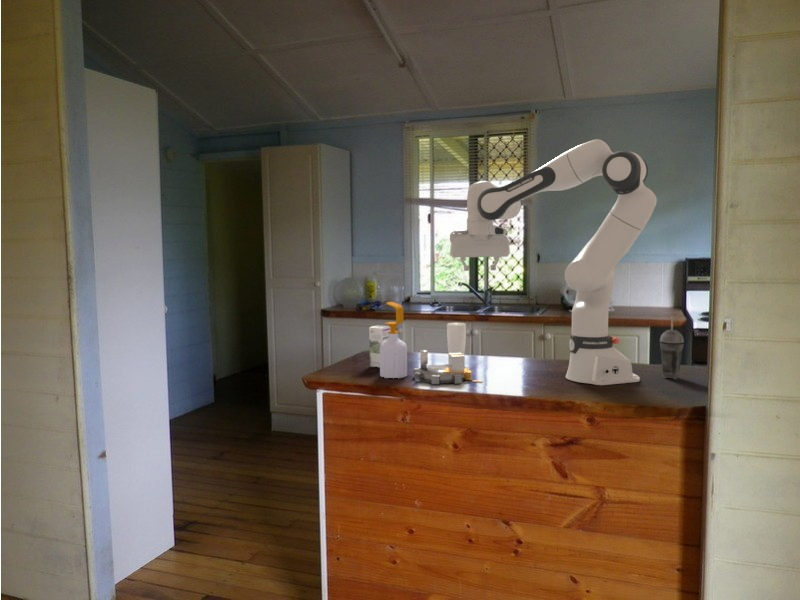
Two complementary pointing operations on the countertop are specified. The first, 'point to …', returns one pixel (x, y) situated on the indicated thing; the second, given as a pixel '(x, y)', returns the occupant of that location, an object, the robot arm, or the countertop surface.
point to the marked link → (456, 362)
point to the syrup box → (377, 343)
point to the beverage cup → (671, 352)
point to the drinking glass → (456, 337)
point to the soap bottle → (393, 349)
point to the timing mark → (476, 381)
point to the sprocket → (438, 372)
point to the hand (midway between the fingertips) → (479, 270)
